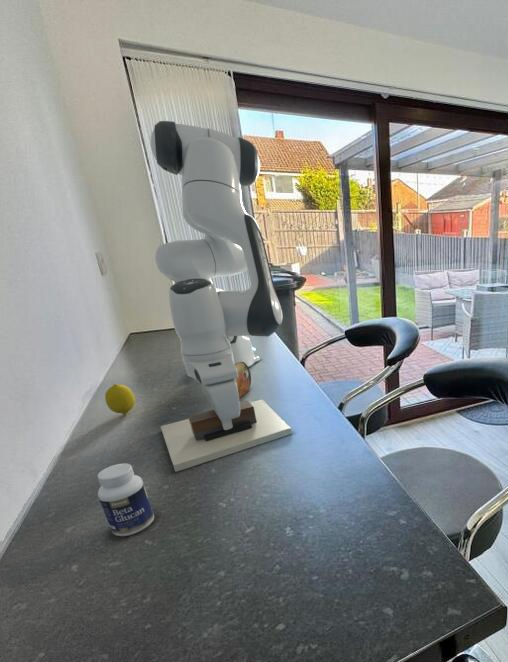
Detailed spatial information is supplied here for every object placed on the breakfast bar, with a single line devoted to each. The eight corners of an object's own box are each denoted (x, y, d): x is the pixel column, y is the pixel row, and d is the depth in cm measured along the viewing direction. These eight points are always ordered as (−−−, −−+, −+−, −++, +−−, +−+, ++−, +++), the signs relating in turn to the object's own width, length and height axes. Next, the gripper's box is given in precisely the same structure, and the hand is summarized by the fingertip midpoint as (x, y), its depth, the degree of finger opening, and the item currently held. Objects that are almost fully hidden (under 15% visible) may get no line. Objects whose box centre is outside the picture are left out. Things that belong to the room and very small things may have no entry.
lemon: (144, 409, 100) (134, 379, 97) (126, 419, 95) (116, 388, 92) (124, 409, 100) (114, 379, 97) (105, 419, 95) (94, 388, 92)
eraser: (192, 433, 84) (187, 416, 82) (251, 416, 90) (248, 400, 89) (196, 440, 81) (191, 423, 79) (256, 422, 87) (253, 406, 86)
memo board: (162, 432, 88) (160, 426, 88) (263, 404, 101) (262, 399, 100) (175, 472, 73) (173, 465, 73) (291, 434, 86) (290, 427, 85)
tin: (228, 408, 99) (220, 377, 96) (215, 409, 99) (208, 377, 96) (254, 385, 113) (248, 357, 110) (243, 385, 113) (237, 357, 110)
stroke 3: (236, 430, 85) (235, 426, 84) (250, 426, 86) (249, 422, 86) (237, 432, 84) (236, 428, 84) (252, 428, 86) (251, 424, 85)
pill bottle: (119, 543, 57) (97, 487, 53) (107, 527, 60) (85, 473, 57) (161, 521, 61) (142, 468, 57) (147, 508, 64) (129, 456, 61)
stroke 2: (220, 434, 83) (219, 430, 83) (235, 430, 85) (234, 426, 85) (221, 437, 82) (220, 432, 82) (237, 432, 84) (236, 428, 84)
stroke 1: (204, 439, 82) (203, 435, 81) (220, 434, 83) (219, 430, 83) (205, 441, 81) (204, 437, 80) (221, 437, 82) (220, 432, 82)
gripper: (184, 354, 86) (199, 411, 91) (202, 380, 71) (219, 447, 76) (215, 348, 89) (228, 404, 95) (239, 371, 74) (253, 436, 79)
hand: (224, 423), depth 85 cm, fingers closed on eraser, 4 cm apart
